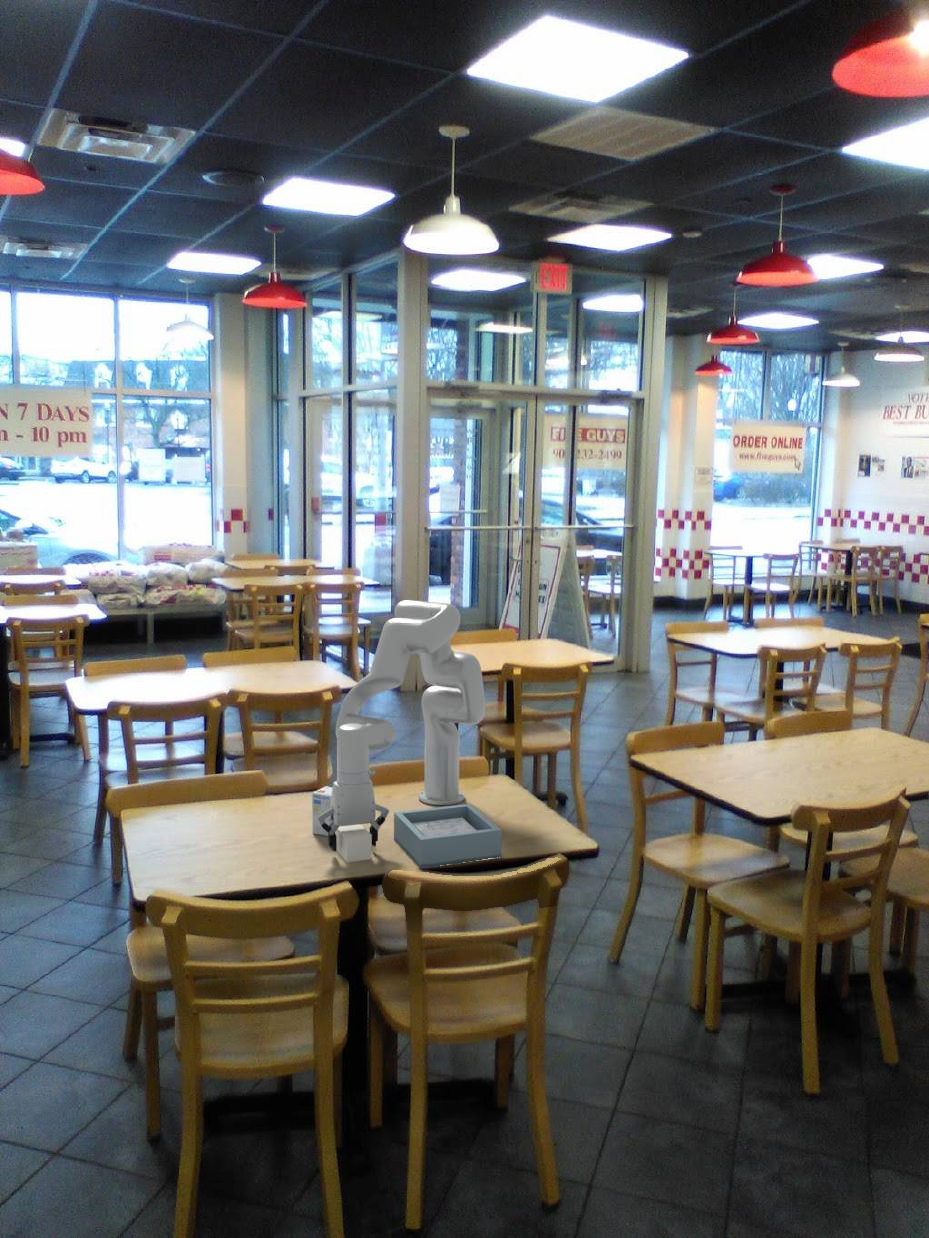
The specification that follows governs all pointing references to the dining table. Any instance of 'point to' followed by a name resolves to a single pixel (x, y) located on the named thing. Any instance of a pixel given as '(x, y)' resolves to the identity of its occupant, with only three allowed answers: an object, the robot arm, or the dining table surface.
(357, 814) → the robot arm
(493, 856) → the tray
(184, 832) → the dining table surface
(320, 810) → the light bulb box
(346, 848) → the white rectangular block
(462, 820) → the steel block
